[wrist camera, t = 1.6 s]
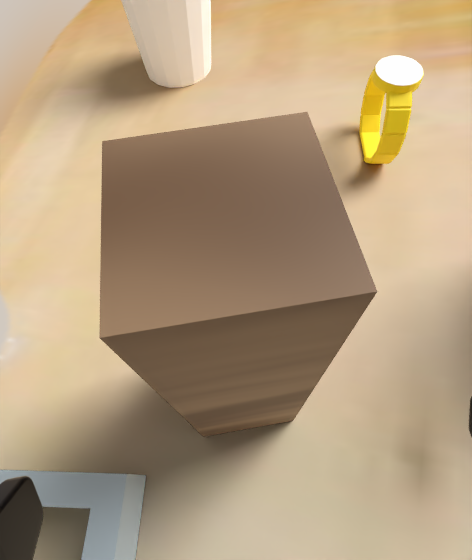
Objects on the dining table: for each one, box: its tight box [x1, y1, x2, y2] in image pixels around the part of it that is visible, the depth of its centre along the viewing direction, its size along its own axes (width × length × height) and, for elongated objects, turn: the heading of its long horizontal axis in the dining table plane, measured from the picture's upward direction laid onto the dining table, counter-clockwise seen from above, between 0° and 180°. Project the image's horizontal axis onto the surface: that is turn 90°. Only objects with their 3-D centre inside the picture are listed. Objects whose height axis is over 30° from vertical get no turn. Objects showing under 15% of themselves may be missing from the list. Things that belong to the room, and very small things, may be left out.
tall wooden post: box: [100, 112, 377, 437], centre depth 13 cm, size 4×4×14 cm
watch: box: [359, 55, 424, 164], centre depth 24 cm, size 6×3×6 cm, turn 178°
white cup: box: [121, 0, 211, 88], centre depth 29 cm, size 7×7×7 cm
